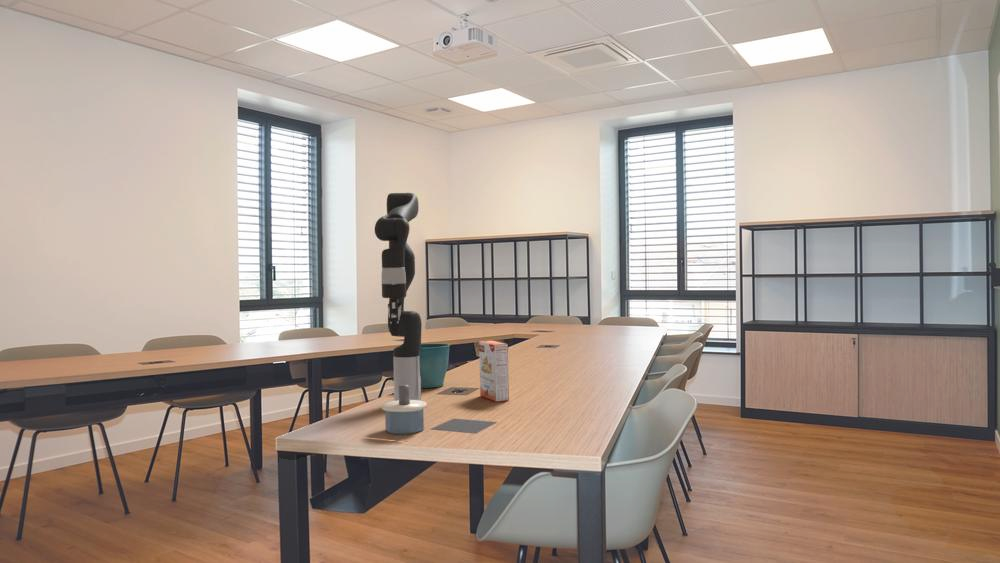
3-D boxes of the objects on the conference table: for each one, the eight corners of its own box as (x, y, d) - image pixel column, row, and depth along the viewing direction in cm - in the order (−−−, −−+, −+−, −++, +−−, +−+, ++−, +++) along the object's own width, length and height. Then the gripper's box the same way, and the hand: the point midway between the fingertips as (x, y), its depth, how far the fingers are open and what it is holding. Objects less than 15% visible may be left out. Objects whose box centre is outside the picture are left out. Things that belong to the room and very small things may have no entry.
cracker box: (479, 396, 243) (478, 340, 243) (493, 394, 246) (492, 340, 246) (494, 402, 231) (493, 344, 230) (509, 401, 233) (508, 343, 233)
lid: (397, 402, 198) (397, 380, 198) (434, 404, 193) (434, 383, 193) (373, 410, 186) (372, 387, 186) (412, 413, 181) (411, 390, 181)
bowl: (399, 425, 197) (398, 402, 197) (430, 428, 192) (430, 405, 192) (378, 434, 187) (378, 409, 187) (411, 437, 182) (410, 412, 182)
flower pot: (398, 386, 268) (397, 345, 268) (433, 381, 280) (432, 342, 280) (423, 391, 255) (423, 348, 255) (459, 385, 267) (458, 344, 267)
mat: (453, 419, 204) (453, 418, 204) (497, 423, 198) (497, 422, 198) (430, 430, 190) (430, 429, 190) (475, 434, 184) (475, 433, 184)
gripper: (382, 282, 207) (384, 332, 208) (380, 283, 193) (381, 337, 193) (406, 281, 208) (407, 331, 209) (405, 282, 194) (407, 336, 194)
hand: (395, 334), depth 201 cm, fingers open, 8 cm apart
